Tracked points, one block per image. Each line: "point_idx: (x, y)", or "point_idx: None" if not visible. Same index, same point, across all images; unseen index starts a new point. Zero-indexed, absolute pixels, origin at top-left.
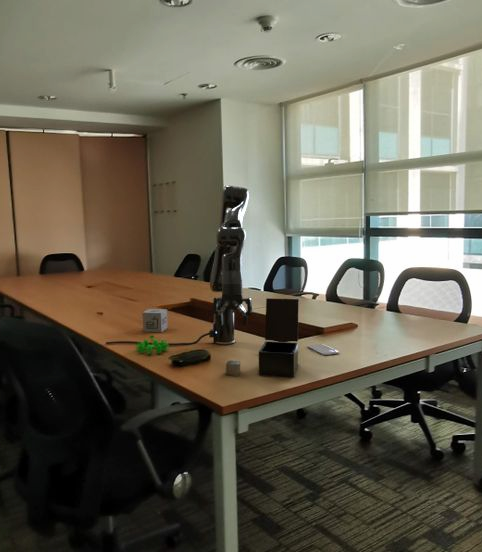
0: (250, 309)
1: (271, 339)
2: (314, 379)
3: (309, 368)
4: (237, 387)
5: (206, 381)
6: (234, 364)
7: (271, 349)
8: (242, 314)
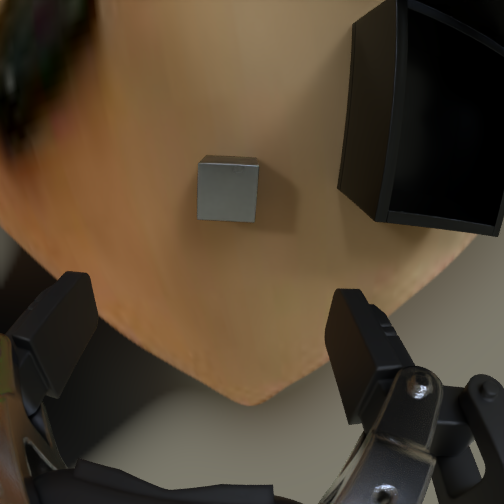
0: (466, 479)
1: (435, 6)
2: None
3: None
4: (267, 315)
5: (152, 278)
6: (238, 221)
7: (409, 25)
8: (354, 449)
